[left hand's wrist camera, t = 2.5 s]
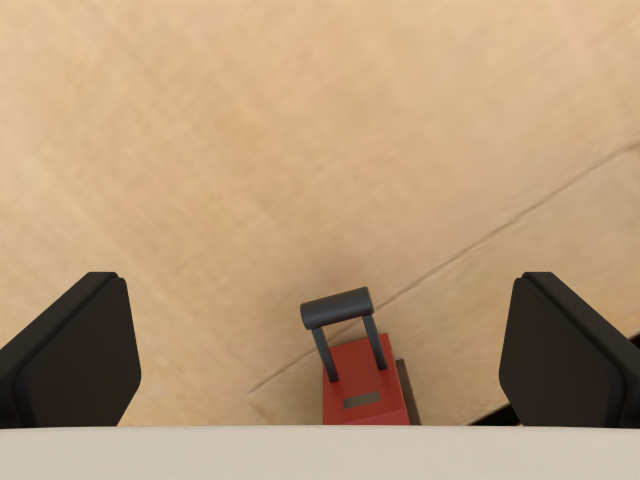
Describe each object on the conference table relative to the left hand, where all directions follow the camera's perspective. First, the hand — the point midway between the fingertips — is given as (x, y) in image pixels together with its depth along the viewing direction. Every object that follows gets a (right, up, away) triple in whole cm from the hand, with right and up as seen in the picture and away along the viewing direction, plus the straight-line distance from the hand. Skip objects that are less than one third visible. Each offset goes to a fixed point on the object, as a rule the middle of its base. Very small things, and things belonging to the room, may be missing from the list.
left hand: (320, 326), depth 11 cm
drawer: (+4, -9, +23) cm, 25 cm away
